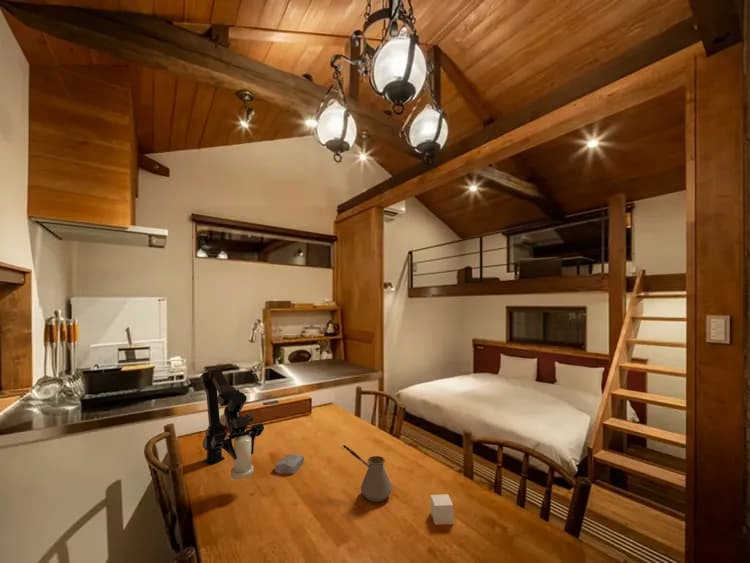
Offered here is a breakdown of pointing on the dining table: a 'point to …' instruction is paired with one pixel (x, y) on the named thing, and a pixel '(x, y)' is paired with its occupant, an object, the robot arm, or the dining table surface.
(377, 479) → the coffee pot
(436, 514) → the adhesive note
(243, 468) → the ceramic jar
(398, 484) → the dining table surface
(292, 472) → the stone block
